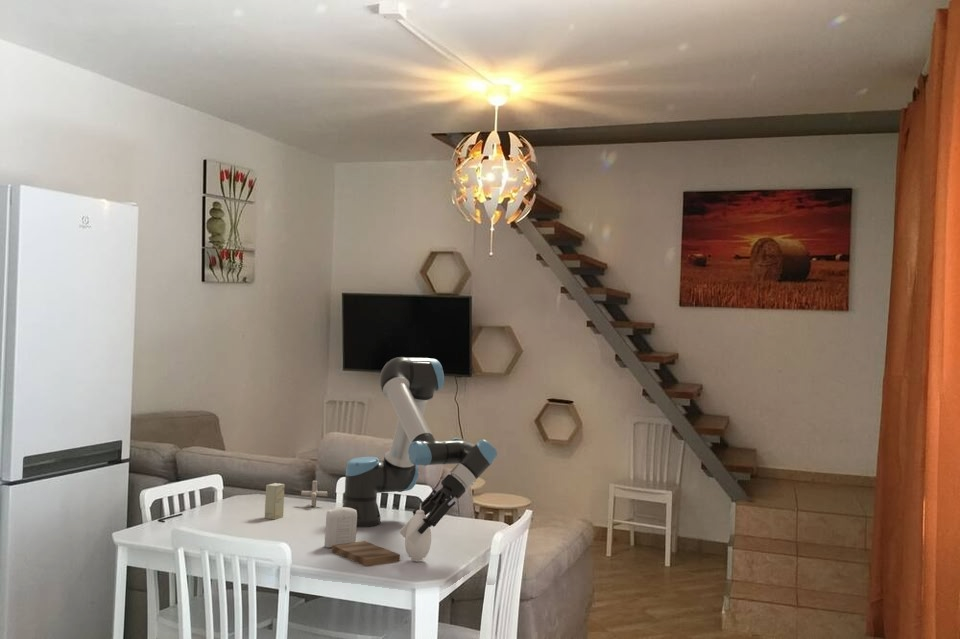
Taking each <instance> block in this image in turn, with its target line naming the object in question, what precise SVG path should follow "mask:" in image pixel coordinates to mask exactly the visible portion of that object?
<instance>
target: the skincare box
mask: <svg viewBox="0 0 960 639" xmlns="http://www.w3.org/2000/svg"><path fill="white" fill-rule="evenodd" d="M285 486H286V485H285V483H280V482H279V483H277V482H274V483H269V484H266V485H265V500H264V502H265V503H264V519H268V520H277V519H280V518H283V517H284V511H285V510H284V508H285V506H284V505H285Z"/></svg>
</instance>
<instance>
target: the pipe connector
mask: <svg viewBox="0 0 960 639" xmlns="http://www.w3.org/2000/svg"><path fill="white" fill-rule="evenodd" d="M300 494H301V496H307V497H308V496H309V497H310V498H311V504H310V505H311V506H316V507H317V497H328V491H326V490H325V491H323V490H321V491H320V490H319V491H318V480H312V488H311V490H301V493H300Z"/></svg>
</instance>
